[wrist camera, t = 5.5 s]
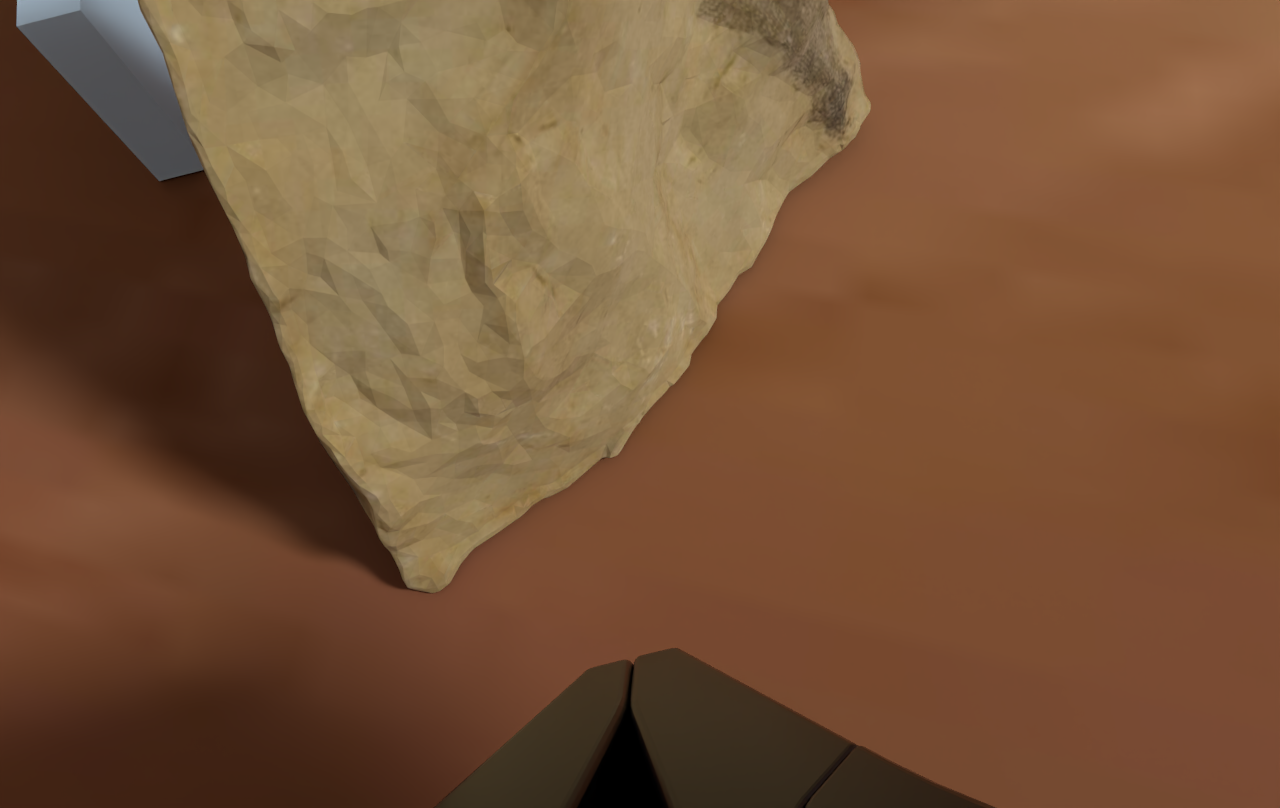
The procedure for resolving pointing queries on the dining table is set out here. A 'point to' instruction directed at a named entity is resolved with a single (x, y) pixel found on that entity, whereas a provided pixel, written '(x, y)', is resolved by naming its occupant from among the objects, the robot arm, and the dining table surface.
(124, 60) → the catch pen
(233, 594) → the dining table surface
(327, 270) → the rock
